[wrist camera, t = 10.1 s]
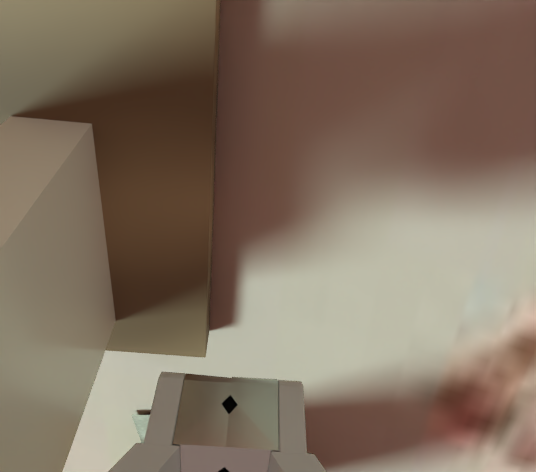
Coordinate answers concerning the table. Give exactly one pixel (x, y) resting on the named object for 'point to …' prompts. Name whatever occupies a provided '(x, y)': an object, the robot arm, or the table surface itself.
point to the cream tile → (49, 288)
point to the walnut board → (133, 143)
